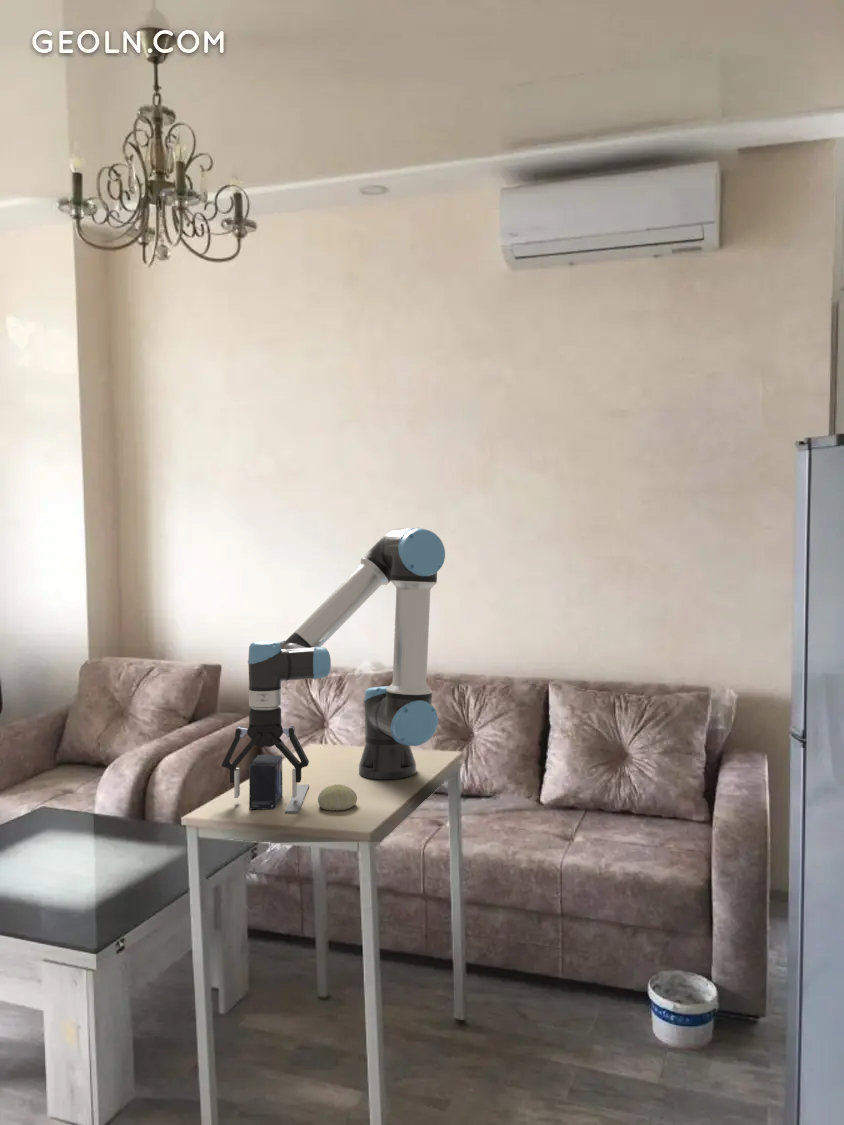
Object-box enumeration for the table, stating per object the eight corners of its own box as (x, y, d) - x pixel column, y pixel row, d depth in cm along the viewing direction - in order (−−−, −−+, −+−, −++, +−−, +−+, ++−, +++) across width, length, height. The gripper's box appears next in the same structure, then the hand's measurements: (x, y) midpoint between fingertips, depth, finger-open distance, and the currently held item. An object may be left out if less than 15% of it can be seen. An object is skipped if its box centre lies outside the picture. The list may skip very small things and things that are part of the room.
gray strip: (309, 786, 241) (309, 784, 241) (298, 813, 218) (298, 810, 218) (297, 786, 241) (297, 784, 241) (285, 813, 218) (285, 811, 218)
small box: (276, 809, 221) (275, 764, 221) (248, 810, 221) (247, 765, 221) (284, 797, 232) (283, 754, 231) (257, 797, 232) (256, 754, 232)
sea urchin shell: (312, 804, 218) (317, 774, 224) (318, 821, 224) (324, 791, 229) (351, 806, 217) (356, 775, 222) (356, 823, 223) (361, 792, 228)
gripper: (208, 710, 222) (209, 801, 223) (316, 709, 222) (317, 800, 223) (215, 704, 229) (216, 792, 230) (319, 703, 230) (320, 791, 230)
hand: (265, 796), depth 226 cm, fingers open, 13 cm apart
